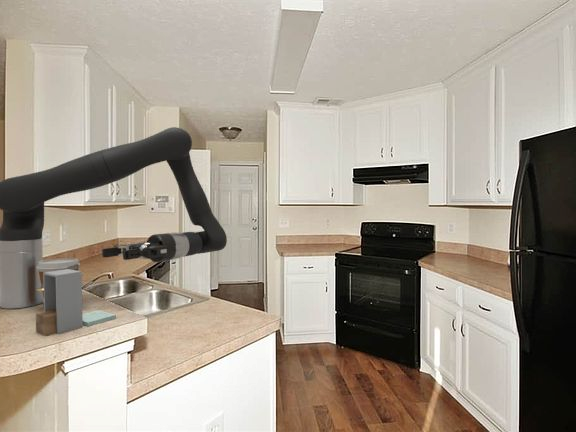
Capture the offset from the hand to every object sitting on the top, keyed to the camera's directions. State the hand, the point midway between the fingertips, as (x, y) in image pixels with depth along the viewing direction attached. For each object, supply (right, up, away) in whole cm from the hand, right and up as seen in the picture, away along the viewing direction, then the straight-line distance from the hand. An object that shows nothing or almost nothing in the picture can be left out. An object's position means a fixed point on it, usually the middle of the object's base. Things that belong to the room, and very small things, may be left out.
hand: (113, 254), depth 85 cm
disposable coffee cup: (-17, -15, +7) cm, 23 cm away
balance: (-13, -14, +1) cm, 19 cm away
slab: (-3, -15, -4) cm, 15 cm away
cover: (-6, -15, -9) cm, 18 cm away
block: (-7, -15, -11) cm, 20 cm away
